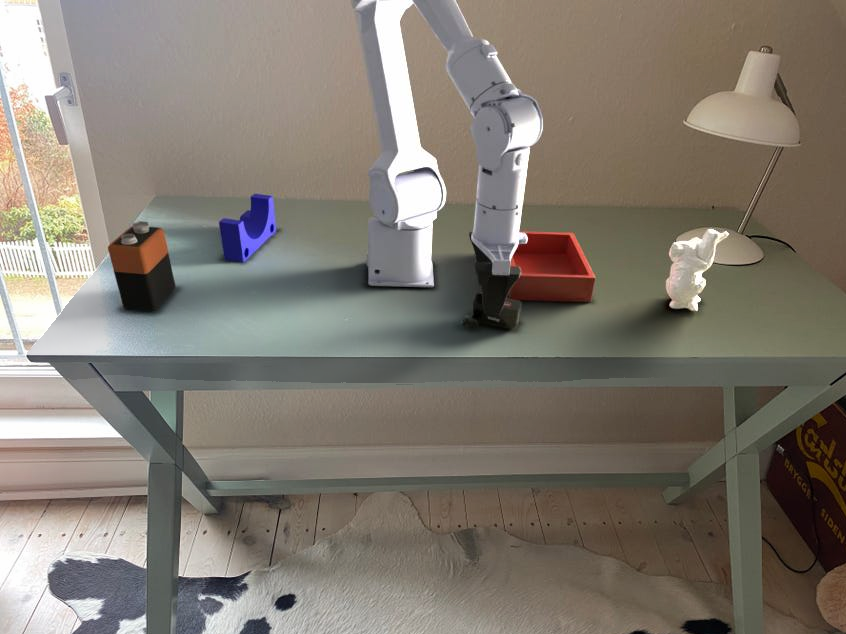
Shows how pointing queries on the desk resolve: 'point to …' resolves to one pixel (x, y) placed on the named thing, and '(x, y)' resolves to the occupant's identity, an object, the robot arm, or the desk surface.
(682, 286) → the koala figurine
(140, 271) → the battery
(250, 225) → the blue pipe saddle mount
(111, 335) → the desk surface
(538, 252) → the red open box
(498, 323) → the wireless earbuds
